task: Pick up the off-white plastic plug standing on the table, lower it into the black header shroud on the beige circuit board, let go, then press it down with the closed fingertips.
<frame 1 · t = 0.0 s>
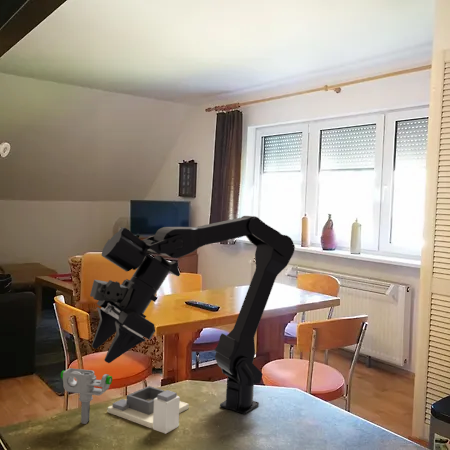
hand: (99, 354, 95), 15 cm above the counter, tool tilted 35°, fingers open, 9 cm apart
plug: (165, 427, 99), on the counter
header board: (148, 410, 107), on the counter
mechanical component: (85, 423, 100), on the counter
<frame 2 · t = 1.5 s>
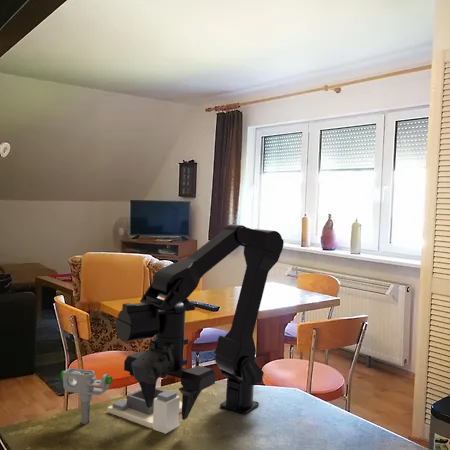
hand: (166, 412, 99), 3 cm above the counter, tool pointing down, fingers open, 8 cm apart
nothing on the counter moved.
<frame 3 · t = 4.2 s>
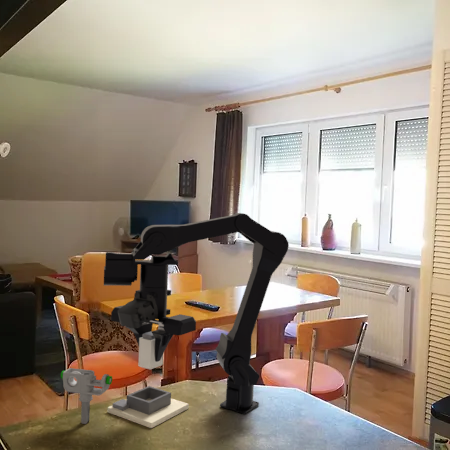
hand: (150, 359, 106), 11 cm above the counter, tool pointing down, fingers closed on plug, 3 cm apart
plug: (150, 365, 106), point 10 cm above the counter, touching gripper
everything else where it was.
when the fingers open (4 cm above the counter, at t = 6.1 s): plug drops 2 cm, resting on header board.
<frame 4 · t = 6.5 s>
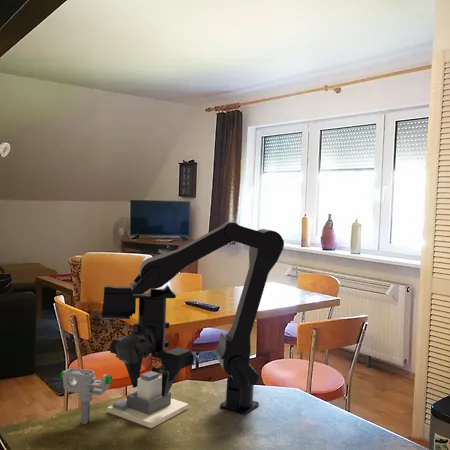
hand: (149, 391, 107), 4 cm above the counter, tool pointing down, fingers open, 8 cm apart
plug: (148, 405, 107), point 1 cm above the counter, touching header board
everything else where it was.
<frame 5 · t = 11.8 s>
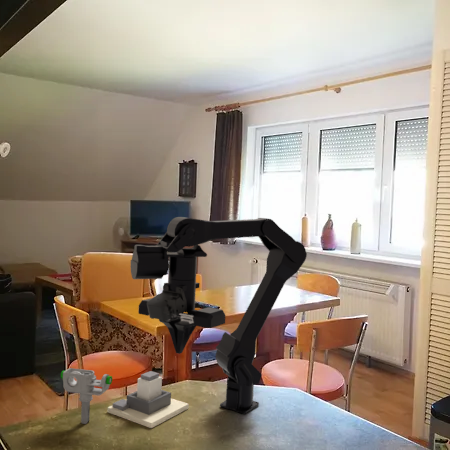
hand: (179, 353, 105), 13 cm above the counter, tool pointing down, fingers closed
nothing on the counter moved.
at the end: plug 0.1 cm off-centre on the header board, point 1.0 cm above the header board's base; plug tilted 0°; the gripper is holding nothing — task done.
